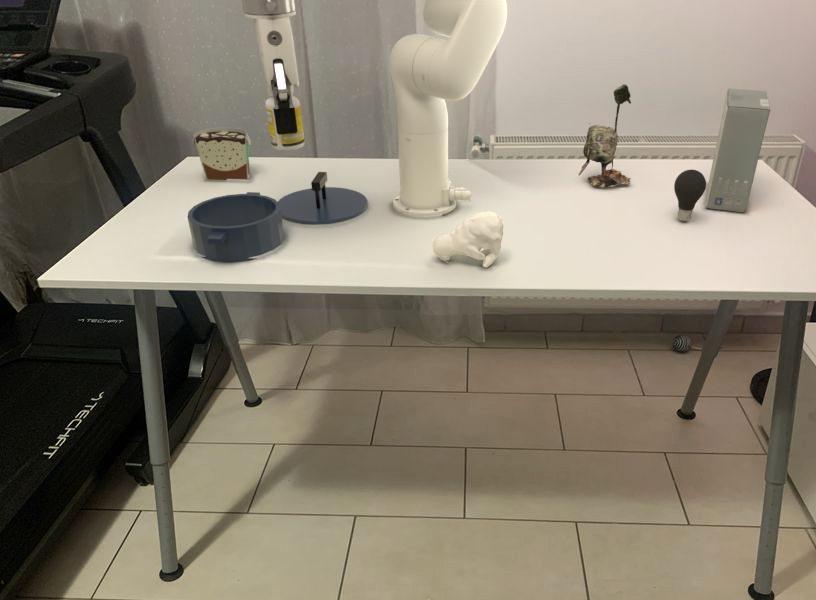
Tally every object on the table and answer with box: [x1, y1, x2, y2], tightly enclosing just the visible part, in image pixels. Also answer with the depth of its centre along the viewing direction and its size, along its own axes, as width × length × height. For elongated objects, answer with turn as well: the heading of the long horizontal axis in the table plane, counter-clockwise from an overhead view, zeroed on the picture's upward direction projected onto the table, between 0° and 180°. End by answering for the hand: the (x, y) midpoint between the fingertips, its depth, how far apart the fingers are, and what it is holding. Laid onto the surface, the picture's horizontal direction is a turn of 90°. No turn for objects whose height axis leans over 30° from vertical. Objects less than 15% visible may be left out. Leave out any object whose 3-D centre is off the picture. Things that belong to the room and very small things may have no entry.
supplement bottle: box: [264, 82, 306, 151], centre depth 115 cm, size 5×5×10 cm
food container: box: [192, 127, 252, 182], centre depth 155 cm, size 12×6×10 cm, turn 84°
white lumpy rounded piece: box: [432, 211, 504, 269], centre depth 120 cm, size 6×8×12 cm
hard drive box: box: [705, 88, 772, 213], centre depth 141 cm, size 16×8×20 cm, turn 162°
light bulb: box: [673, 169, 707, 223], centre depth 133 cm, size 6×6×10 cm
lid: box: [277, 171, 369, 225], centre depth 140 cm, size 18×18×6 cm
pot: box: [187, 191, 286, 263], centre depth 126 cm, size 16×21×6 cm
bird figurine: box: [577, 83, 632, 188], centre depth 148 cm, size 8×11×20 cm
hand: (285, 126), depth 116 cm, fingers closed on supplement bottle, 5 cm apart
